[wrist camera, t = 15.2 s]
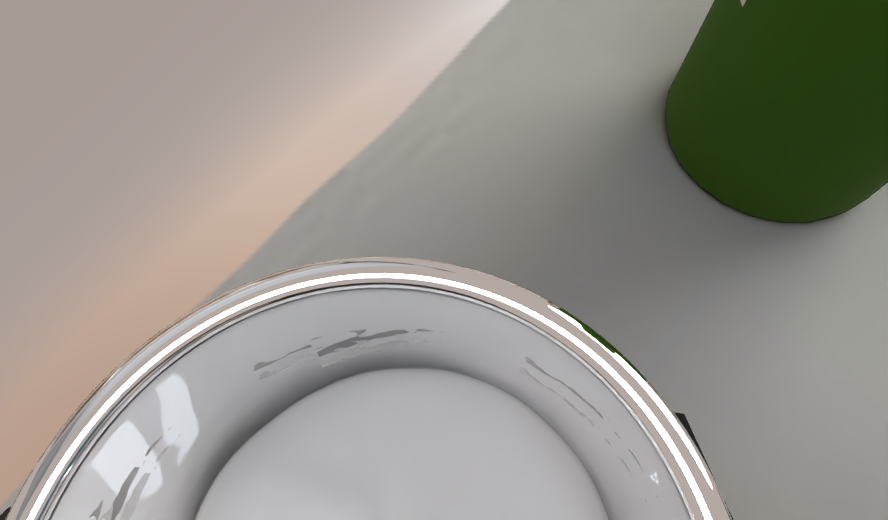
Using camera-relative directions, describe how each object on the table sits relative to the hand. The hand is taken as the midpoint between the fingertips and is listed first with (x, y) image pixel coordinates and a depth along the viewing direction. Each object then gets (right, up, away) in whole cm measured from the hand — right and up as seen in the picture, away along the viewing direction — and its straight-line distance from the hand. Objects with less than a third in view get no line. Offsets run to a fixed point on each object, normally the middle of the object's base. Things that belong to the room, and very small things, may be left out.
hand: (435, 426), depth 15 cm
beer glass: (-1, -5, +4) cm, 7 cm away
